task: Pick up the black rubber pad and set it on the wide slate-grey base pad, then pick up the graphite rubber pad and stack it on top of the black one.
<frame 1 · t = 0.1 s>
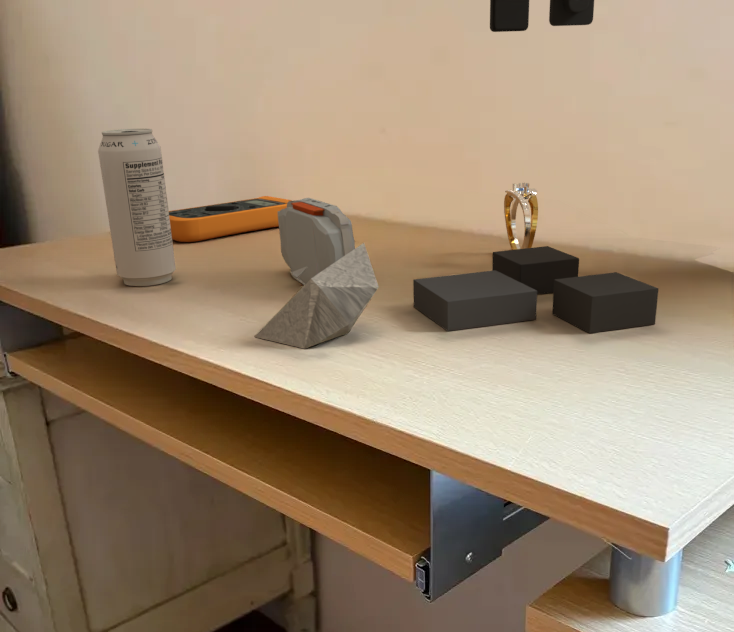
hand: (537, 28, 63), 22 cm above the table, tool pointing down, fingers open, 9 cm apart
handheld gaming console: (316, 285, 83), on the table
graphite pad: (533, 285, 79), on the table
ring: (518, 260, 90), on the table
paper boat: (327, 333, 68), on the table
energy drink can: (148, 282, 87), on the table
black pad: (602, 318, 69), on the table
multimeter: (228, 232, 112), on the table
base pad: (472, 312, 72), on the table
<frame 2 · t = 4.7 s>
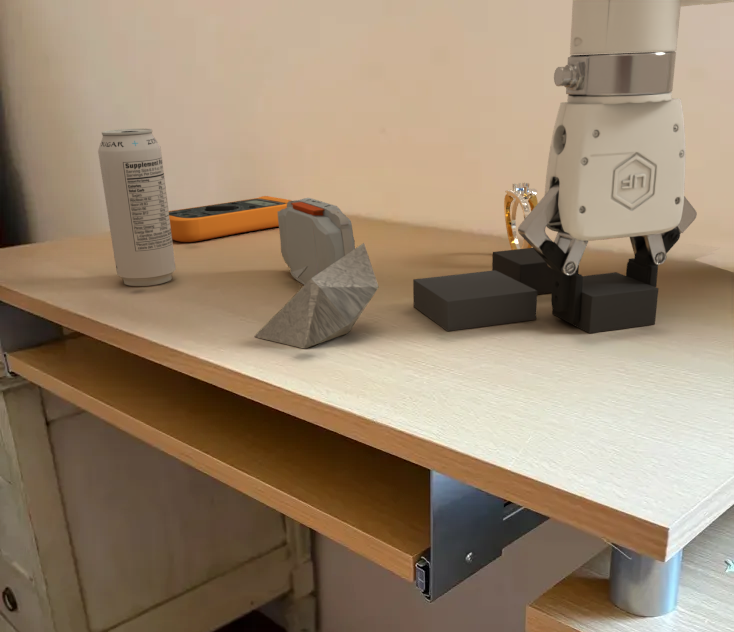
hand: (602, 312, 68), 1 cm above the table, tool pointing down, fingers closed on black pad, 6 cm apart
black pad: (602, 319, 69), on the table, touching gripper
everything else where it was.
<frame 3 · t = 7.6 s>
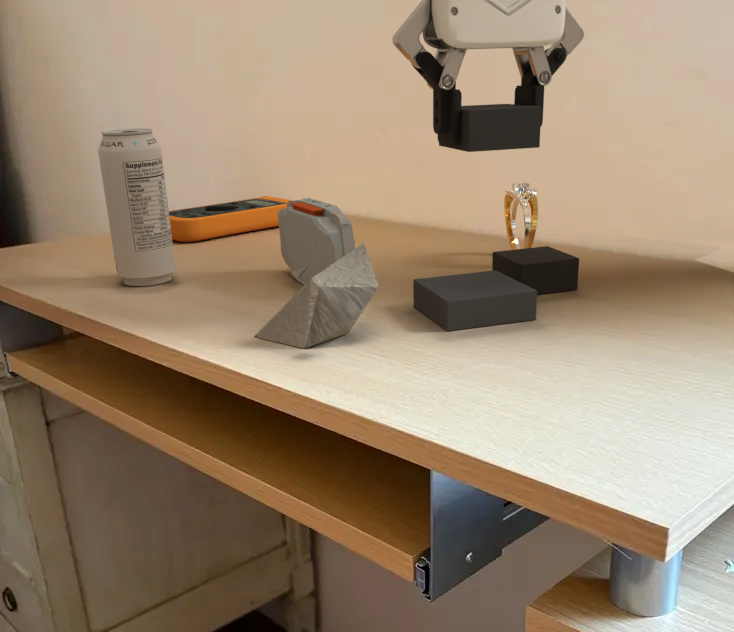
hand: (487, 138, 66), 14 cm above the table, tool pointing down, fingers closed on black pad, 6 cm apart
black pad: (487, 146, 66), point 14 cm above the table, touching gripper
everything else where it was.
when the fingers open (3 cm above the table, at t = 10.7 s): black pad stays where it is, resting on base pad.
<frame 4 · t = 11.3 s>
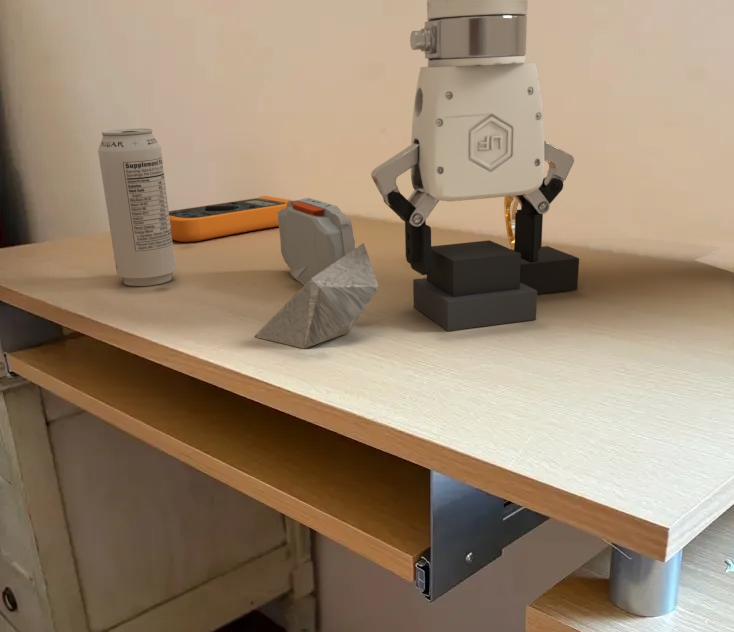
hand: (474, 265, 70), 4 cm above the table, tool pointing down, fingers open, 9 cm apart
black pad: (472, 284, 71), point 3 cm above the table, touching base pad
base pad: (472, 312, 72), on the table, touching black pad
everything else where it was.
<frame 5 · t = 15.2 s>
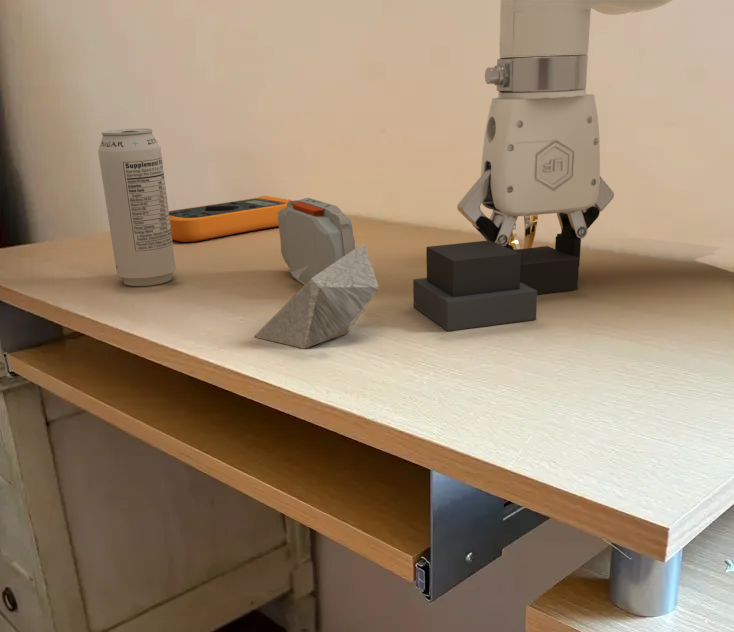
hand: (533, 279, 79), 1 cm above the table, tool pointing down, fingers closed on graphite pad, 6 cm apart
graphite pad: (533, 285, 79), on the table, touching gripper
everything else where it was.
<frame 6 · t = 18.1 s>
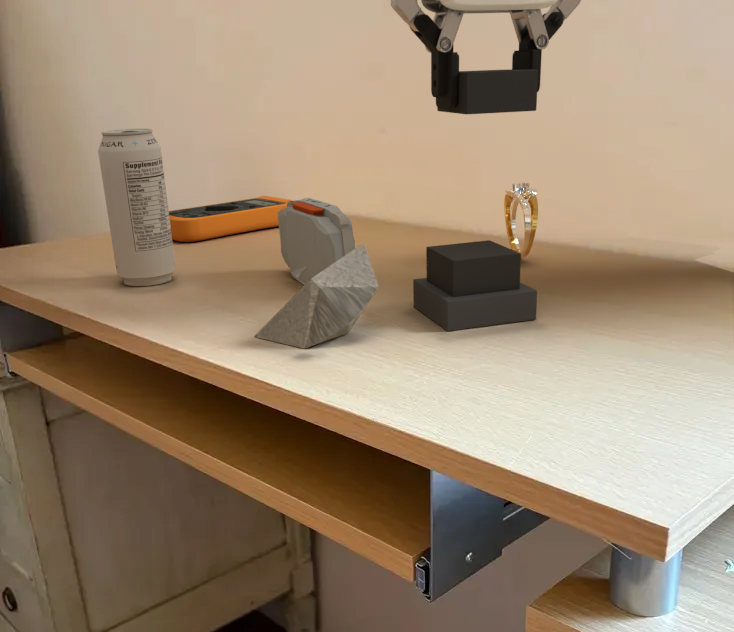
hand: (485, 103, 66), 17 cm above the table, tool pointing down, fingers closed on graphite pad, 6 cm apart
graphite pad: (485, 110, 67), point 16 cm above the table, touching gripper
everything else where it was.
when the fingers open (6 cm above the table, at t = 21.2 s): graphite pad stays where it is, resting on black pad.
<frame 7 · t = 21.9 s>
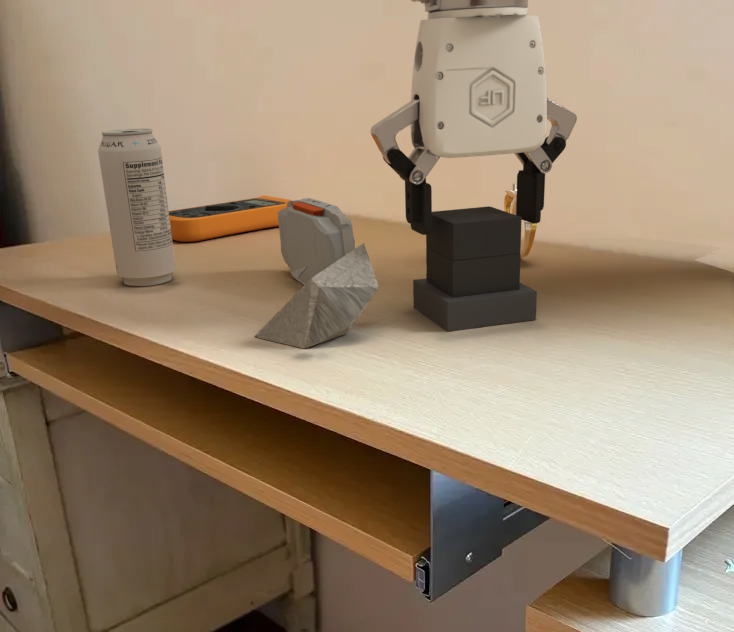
hand: (475, 226, 69), 7 cm above the table, tool pointing down, fingers open, 9 cm apart
graphite pad: (472, 250, 70), point 5 cm above the table, touching black pad
black pad: (471, 285, 71), point 2 cm above the table, touching base pad, graphite pad
everything else where it was.
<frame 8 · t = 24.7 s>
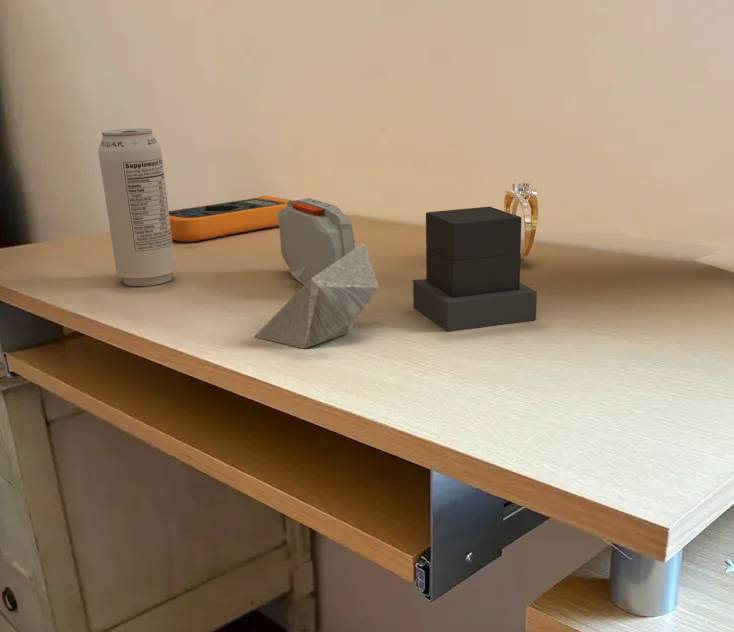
nothing on the table moved.
at the end: black pad 0.1 cm off-centre on the base pad, point 2.5 cm above the base pad's base; graphite pad 0.1 cm off-centre on the base pad, point 5.5 cm above the base pad's base; graphite pad tilted 0° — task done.
